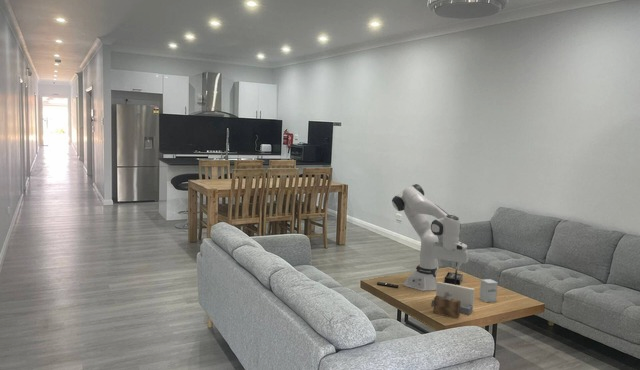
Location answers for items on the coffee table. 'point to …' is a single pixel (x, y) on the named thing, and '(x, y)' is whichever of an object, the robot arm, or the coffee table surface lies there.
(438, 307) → the walnut panel
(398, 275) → the coffee table surface
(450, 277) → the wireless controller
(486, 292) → the supplement box
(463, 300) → the board
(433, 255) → the robot arm
